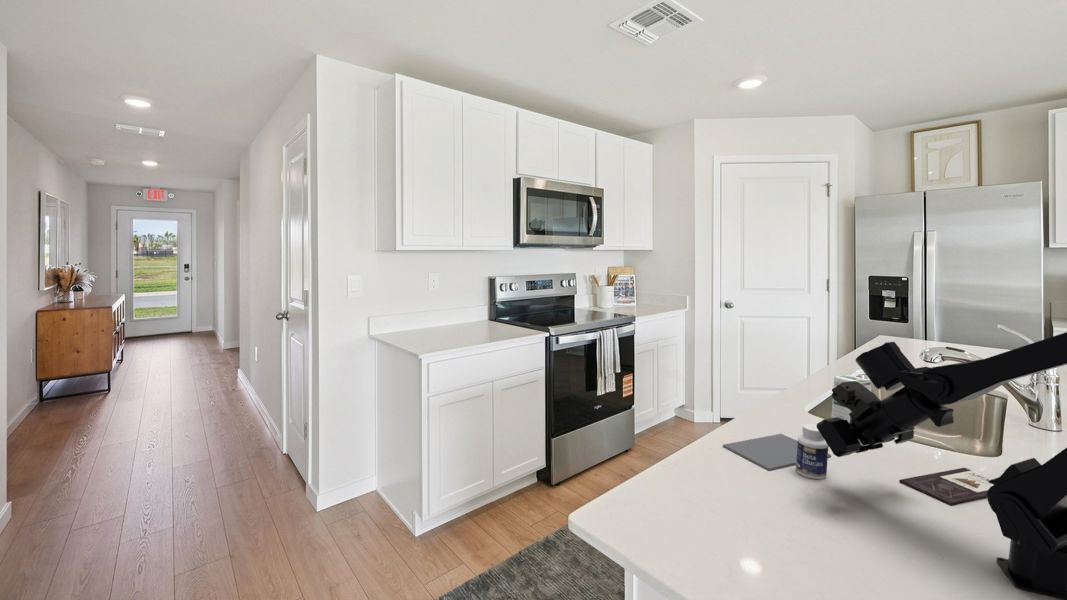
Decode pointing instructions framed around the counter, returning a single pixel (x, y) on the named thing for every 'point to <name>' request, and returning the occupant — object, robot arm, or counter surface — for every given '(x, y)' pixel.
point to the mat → (768, 451)
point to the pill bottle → (812, 453)
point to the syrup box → (843, 410)
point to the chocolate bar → (951, 485)
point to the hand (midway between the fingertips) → (832, 449)
